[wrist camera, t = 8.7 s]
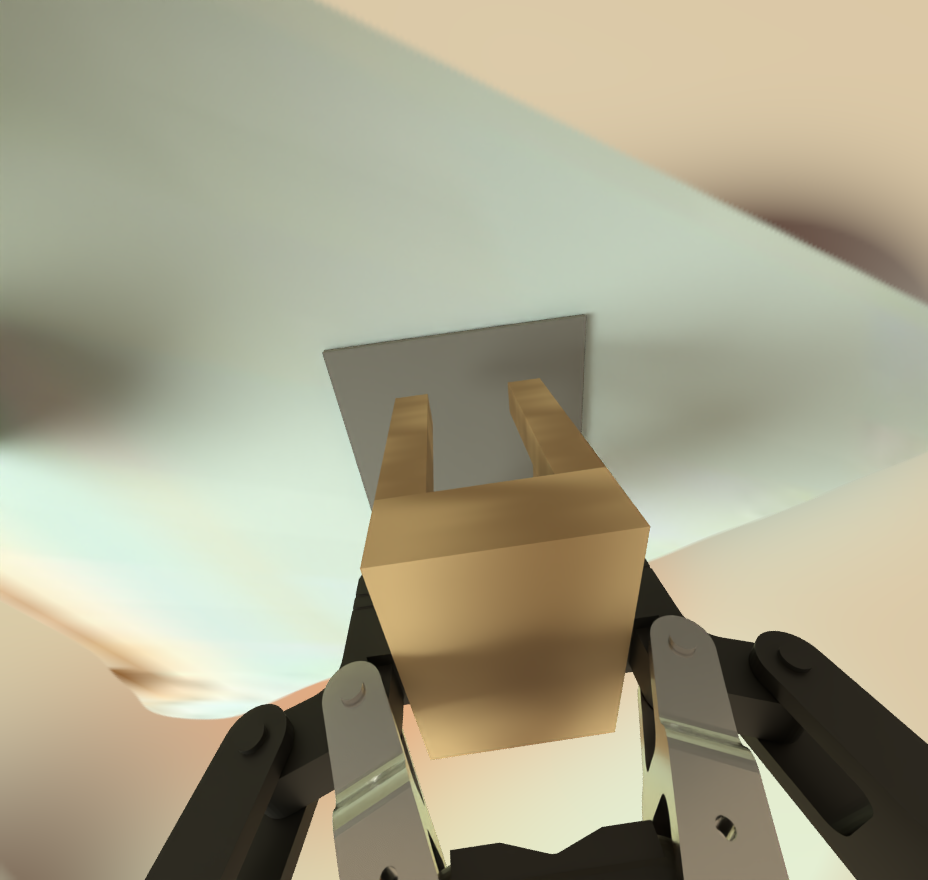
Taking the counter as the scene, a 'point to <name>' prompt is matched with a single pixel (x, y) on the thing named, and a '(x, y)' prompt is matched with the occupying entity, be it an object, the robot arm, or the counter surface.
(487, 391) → the rubber mat
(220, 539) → the counter surface
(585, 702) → the notched wooden block
